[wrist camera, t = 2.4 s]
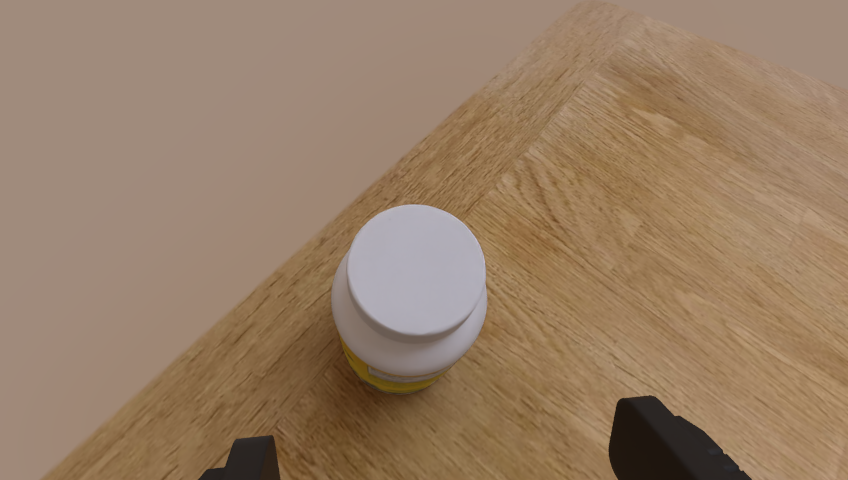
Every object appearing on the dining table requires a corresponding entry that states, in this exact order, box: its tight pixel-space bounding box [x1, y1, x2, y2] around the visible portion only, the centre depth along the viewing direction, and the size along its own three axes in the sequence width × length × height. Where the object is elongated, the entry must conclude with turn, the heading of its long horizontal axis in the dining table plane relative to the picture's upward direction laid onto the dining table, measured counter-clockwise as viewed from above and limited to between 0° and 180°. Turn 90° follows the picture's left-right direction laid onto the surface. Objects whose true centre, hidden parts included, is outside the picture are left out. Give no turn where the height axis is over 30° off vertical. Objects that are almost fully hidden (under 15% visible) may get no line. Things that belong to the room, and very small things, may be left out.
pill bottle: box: [331, 205, 487, 394], centre depth 19 cm, size 6×6×11 cm
